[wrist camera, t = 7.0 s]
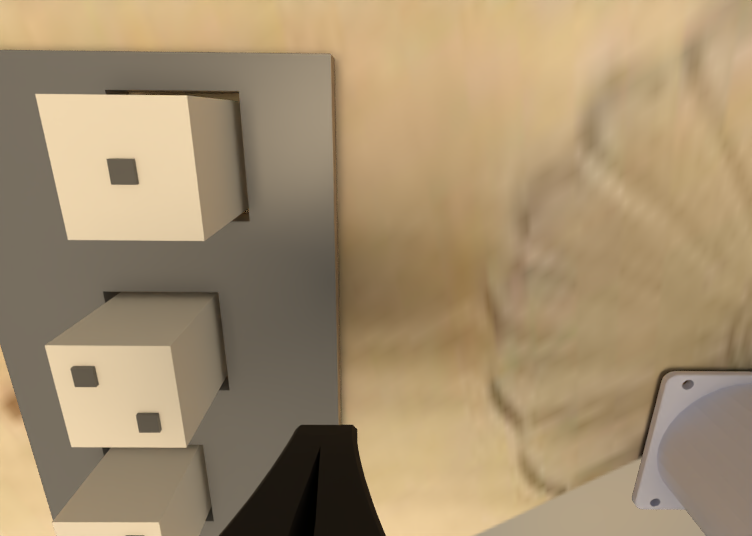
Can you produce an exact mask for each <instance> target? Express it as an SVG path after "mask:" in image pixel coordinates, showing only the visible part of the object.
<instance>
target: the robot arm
mask: <svg viewBox="0 0 752 536" xmlns="http://www.w3.org/2000/svg"><path fill="white" fill-rule="evenodd" d="M686 380H688V381H687V382H686V383H685V384H683V383H684V382H685V381H686ZM682 384H683V385H682ZM632 501H633V502H634V504H635V505H636V507H637V508H639V509H685V510H686V511H687V512H688V514H689V515H690V516H691V517H692V519H693V520H694V521H695V522H696V524H697V525H698V526H699V527H700V529H701V530H702V531H703V532H704V533H705V535H706V536H752V372H750V371H672V372H669V373H667V374H666V375H665V376H664V377H663V379H662V381H661V385H660V389H659V393H658V397H657V401H656V405H655V409H654V413H653V417H652V420H651V424H650V428H649V432H648V436H647V440H646V444H645V448H644V452H643V456H642V460H641V464H640V468H639V471H638V475H637V479H636V483H635V487H634V491H633V495H632ZM219 536H386V535H385V533H384V530H383V528H382V525H381V523H380V520H379V518H378V515H377V513H376V510H375V507H374V504H373V502H372V499H371V496H370V492H369V489H368V486H367V483H366V480H365V476H364V473H363V469H362V465H361V461H360V456H359V451H358V444H357V429H356V428H355V427H354V426H353V425H300V426H299V427H297V428H296V430H295V431H294V433H293V435H292V437H291V438H290V440H289V442H288V443H287V445H286V446H285V448H284V450H283V451H282V453H281V454H280V456H279V457H278V459H277V460H276V462H275V463H274V465H273V466H272V468H271V469H270V470H269V472H268V473H267V475H266V476H265V477H264V479H263V480H262V481H261V483H260V484H259V486H258V487H257V488H256V490H255V491H254V492H253V494H252V495H251V496H250V498H249V499H248V500H247V502H246V503H245V504H244V505H243V507H242V508H241V509H240V510H239V511H238V513H237V514H236V515H235V516H234V518H233V519H232V520H231V521H230V523H229V524H228V525H227V526H226V528H225V529H224V530H223V531H222V532H221V533H220V535H219Z"/></svg>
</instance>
